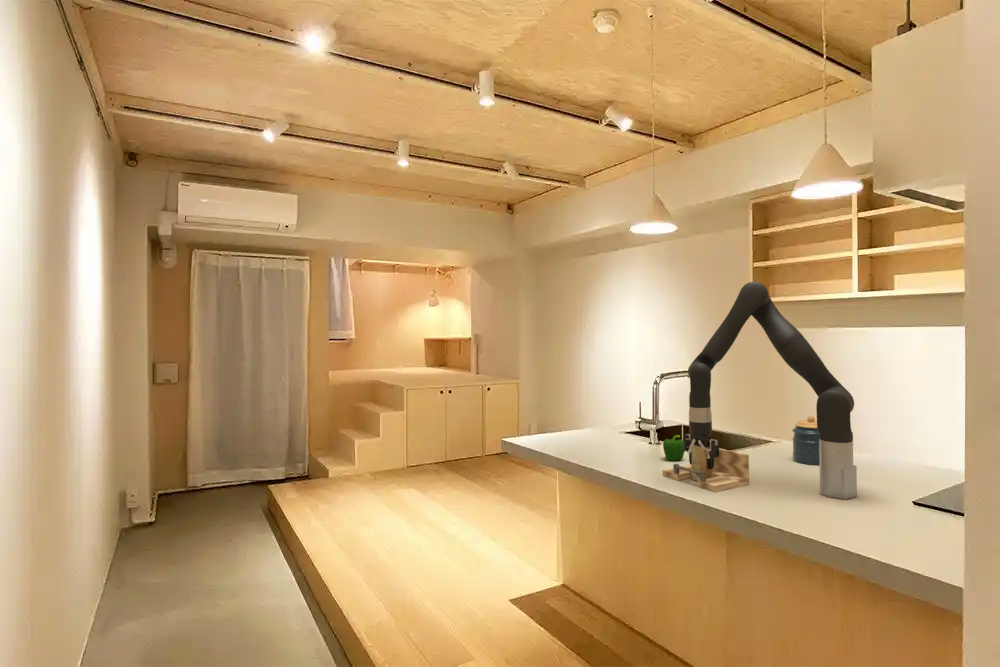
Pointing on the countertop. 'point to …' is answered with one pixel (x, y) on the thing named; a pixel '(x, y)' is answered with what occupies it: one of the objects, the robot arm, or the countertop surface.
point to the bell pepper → (673, 448)
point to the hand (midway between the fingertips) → (701, 466)
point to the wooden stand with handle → (717, 472)
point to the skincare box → (700, 462)
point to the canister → (806, 442)
